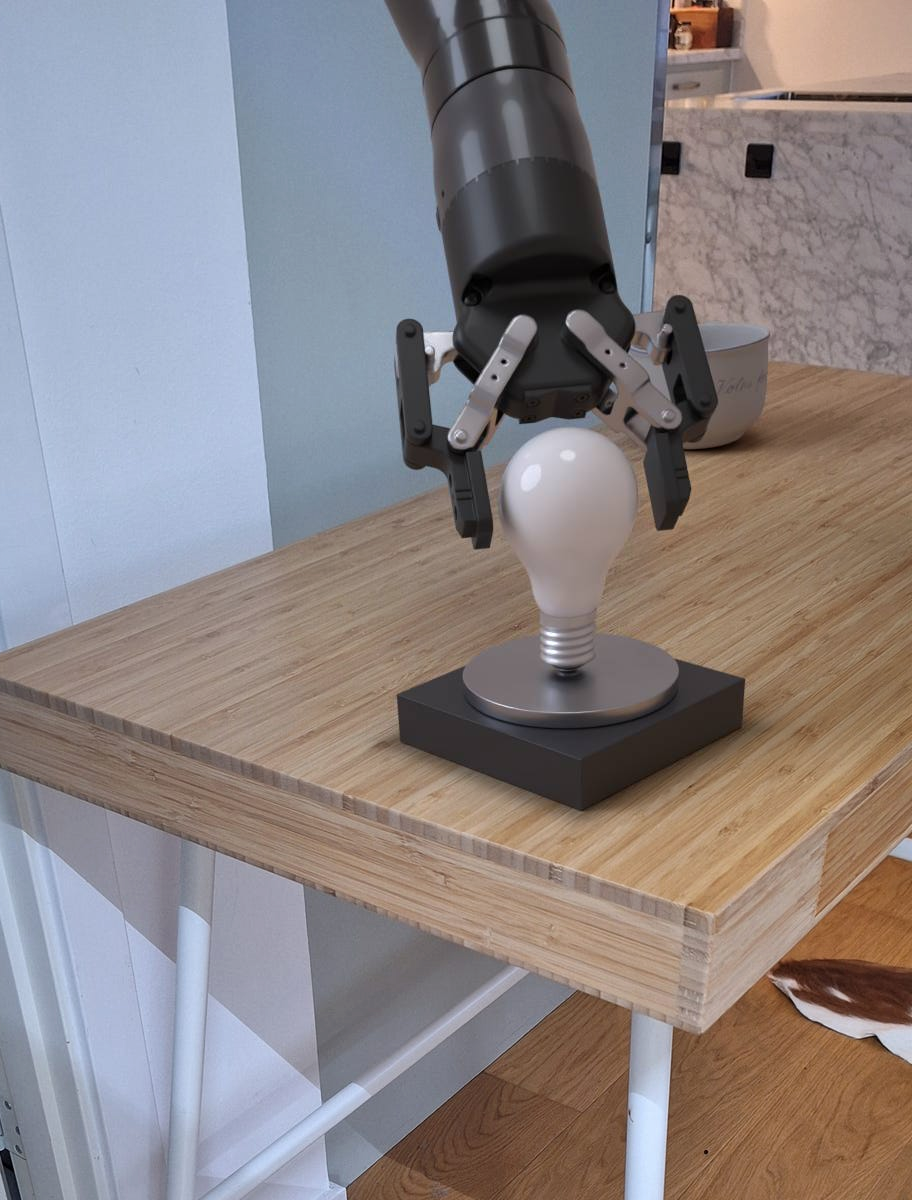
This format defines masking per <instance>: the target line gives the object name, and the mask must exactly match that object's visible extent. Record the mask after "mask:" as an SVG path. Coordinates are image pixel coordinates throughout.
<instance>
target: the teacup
mask: <svg viewBox="0 0 912 1200" xmlns="http://www.w3.org/2000/svg"><path fill="white" fill-rule="evenodd" d="M698 327H699V330H700V334H701V338H702V342H703V345H704V349H705V353H706V356H707V360H708V364H709V367H710V371H711V375H712V379H713V382H714V386H715V390H716V393H717V397H718V405H717V407H716V409H715V411H714V413H713V414H712V416H711V419H710V421H709V423H708V425H707V430H706V432H705V435H704V437H703V438H702V440H700V441H699V442H696V443H690V442H685V443H683V448H684V450H700V449H709V448H715V447H720V446H725V445H729V444H731V443H733V442H736V441H737V440H739V439H740V438H742V436H743V435H744V434H745V433H746V431H747V430H748V429H750V427H751V426H753V425H754V424H756V421H758V419H759V418H760V416H761V415H762V412H763V410H764V407H765V404H766V398H767V397H766V396H767V387H768V370H769V369H768V368H769V340H770V337H771V331H770V329H769V328H768V327H766V326H763V325H759V324H756V323H755V324H754V323H747V322H722V321H720V320H713V321H707V322H706V323H698ZM629 355H630V356H631V357H632V358H633V359H634V360H636V361H637V362H638V363H639V364H640V365H641V366H642V367H643V368H644V369H645V370H646V371H647V372H648V374H649V377H650V381H651V383H652V385H653V386H654V387H655V388H656V389H658V390H659V391H660V392H661V393H662V394H663V395H664V396H665V397H666V398H667V399H669V400H670V401H671V398H670V395H669V391H668V387H667V383H666V380H665V376H664V372H663V368H662V364H660V365H658V366H656V365H654V364H653V363H652V361H651V360H652V359H651V358H650V357H649V355H648V353H647V351H646V350H645V349H644V348H643V347H642V346H639V345H635V344H633V345H631V347H630V350H629Z"/></svg>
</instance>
